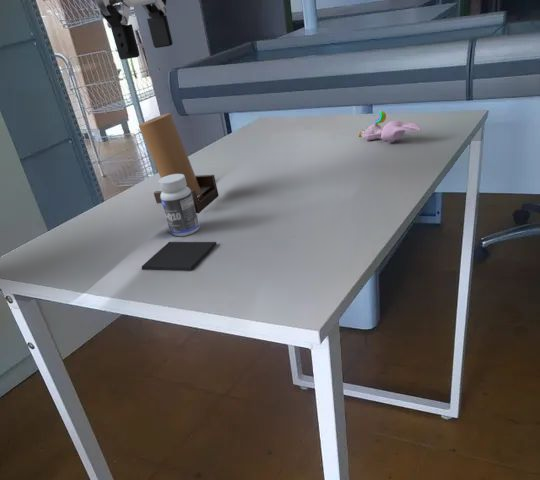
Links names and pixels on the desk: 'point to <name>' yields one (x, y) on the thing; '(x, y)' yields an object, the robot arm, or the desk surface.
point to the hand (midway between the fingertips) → (147, 52)
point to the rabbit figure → (387, 129)
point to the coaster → (179, 256)
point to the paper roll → (168, 149)
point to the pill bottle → (178, 205)
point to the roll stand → (207, 195)
